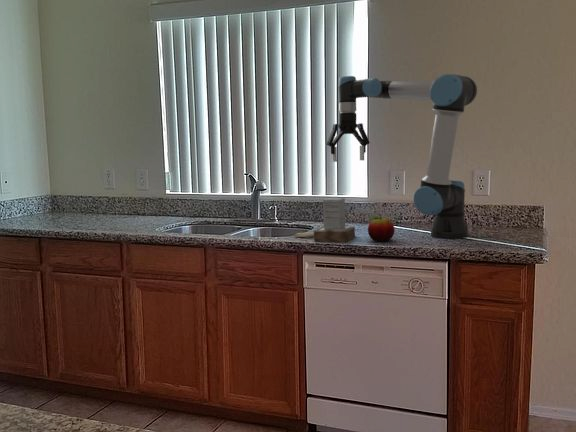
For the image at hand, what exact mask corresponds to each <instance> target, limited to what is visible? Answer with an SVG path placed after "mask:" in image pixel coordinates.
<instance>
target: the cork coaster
mask: <svg viewBox="0 0 576 432" xmlns="http://www.w3.org/2000/svg"><path fill="white" fill-rule="evenodd" d="M295 236H297V237H314V232H309V231H308V232H298V233H294V237H295ZM297 237H296V238H297Z"/></svg>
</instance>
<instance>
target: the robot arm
mask: <svg viewBox="0 0 576 432" xmlns="http://www.w3.org/2000/svg"><path fill="white" fill-rule="evenodd" d="M477 95H478V86H477V84H476V82H475V81H474V80H473V79H472V78H471V77H469V76H464V75H458V74H453V73H451V74H450V73H448V74H447V73H446V74H442V75H440V76H438V77H436V79H435V80H433V81H427V80H426V81H425V80H424V81H423V80H421V81H420V80H419V81H417V80H380V79H378V78H376V77H375V78H373V77H369V78H364V79H357V78H356V76H353V75H345V76H340V77H339V79H338V103H339V104H338V112H339V115H338V117H339V120H338V121H339V124H338V123H333V125H332V130H331V132H330V134H329V137H328V140H327V142H326V145H327V146H328V147H330V153H331V155H332V162H333V163H335V162H336V163H337V162H338V147H337V146H336V145H337V144H338V142H340V139H342V137H343V135H351V134H352V135H353V136H354V138H355V139H356V140H357V141H358V142H359V144H360V145H359V161H365V153H366V152H367V151H366V149H367V147H366V146H367V145H369V144H370V140H369V138H368V136H367V134H366V131H365V129H364V123H362V122H361V123H357V113H356V112H357V99H359V98H376V99H383V100H384V99H386V100H387V99H395V100H397V99H398V100H416V101H417V100H419V101H421V100H424V101H432V109H431V110H432V111H433V113H435V115H434V116H435V117H434V123H433V129H432V136H431V141H430V142H431V143H430V148H429V155H428V159H427V160H428V161H427V168H426V173H425V176H423V177H421V180H420V186H419V187H418V189H417V190H416V191H414V195H413V204H414V206H415V208H416V209H417V211H418V212H419V213H421V214H423V215H424V216H434V220H433V223H432V227H431V229H430V236H431V237H434V238H439V239H463V238H467V237H469V229H468V225H467V222H466V219H465V199H466V198H465V193H466V188H465V183H464V182H463V181H461V180H450V179H449V178H450V177H449V176H450V170H451V165H452V157H453V153H454V147H455V141H456V135H457V129H458V123H459V122H458V121H459V117H460V116H461V115H463V113H465V107H467V106H469V105H470V104H472V103H473V102H474V100H475V99H476V97H477ZM357 129H358V130H357ZM338 130H339V131H338ZM337 132H338V133H337ZM336 134H337V135H336Z"/></svg>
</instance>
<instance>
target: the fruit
mask: <svg viewBox="0 0 576 432" xmlns="http://www.w3.org/2000/svg"><path fill="white" fill-rule="evenodd" d="M367 218H368V219H372V220H371V221H370V222H369V224H368V227H367V234H368V235H369V236H368V237H370V239H371V240H372V241H374V242H380V243H381V242H382V243H383V242H389V241H390V240H392V238H393V237H394V234H395V226H394V224H393V222H392V221H391V220H390V218H387V217H382V216H375V215H371V216H369V217H367Z"/></svg>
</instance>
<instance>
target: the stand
mask: <svg viewBox="0 0 576 432" xmlns="http://www.w3.org/2000/svg"><path fill="white" fill-rule="evenodd" d="M355 228H356V227H355V226H345V228H343V229H341V230H326V229H324V225H323V226H321V227H320V228H318V229H316V230H314V231H313V233H314V238H313V241H314V240H315V241H314V242H329V241H330V243H331V242H333V243H335V242H336V243H339V242H341V243H348V242H349V241H350V240H352V239H353V238H354V237H356V233H355V232H356V229H355Z"/></svg>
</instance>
